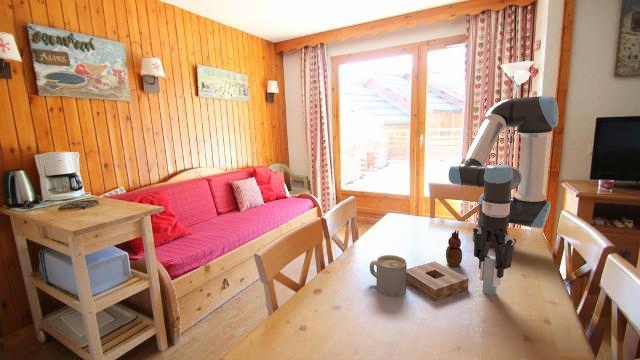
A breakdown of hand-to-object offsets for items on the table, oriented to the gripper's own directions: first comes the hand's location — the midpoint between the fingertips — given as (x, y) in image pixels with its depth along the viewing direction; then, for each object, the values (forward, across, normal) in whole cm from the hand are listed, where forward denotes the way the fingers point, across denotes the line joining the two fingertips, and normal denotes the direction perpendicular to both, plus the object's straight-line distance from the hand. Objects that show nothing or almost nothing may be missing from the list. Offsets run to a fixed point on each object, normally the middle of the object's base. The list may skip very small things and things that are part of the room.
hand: (489, 282), depth 103 cm
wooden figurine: (+4, -20, +6) cm, 21 cm away
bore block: (+4, -12, -12) cm, 17 cm away
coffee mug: (+4, -19, -27) cm, 33 cm away
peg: (+4, 0, 0) cm, 4 cm away
